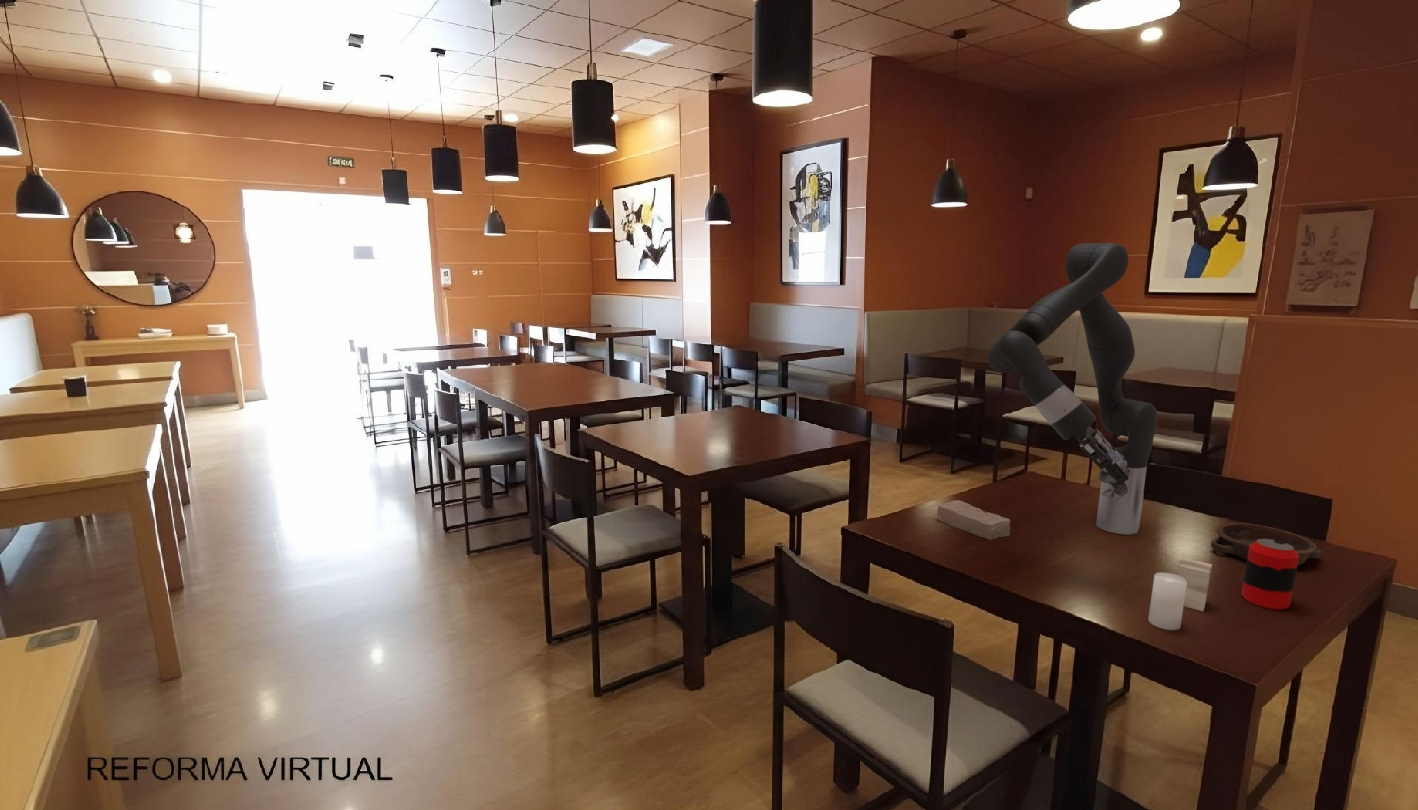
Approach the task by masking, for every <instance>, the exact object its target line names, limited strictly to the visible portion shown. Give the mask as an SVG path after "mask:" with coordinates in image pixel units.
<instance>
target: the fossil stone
mask: <svg viewBox="0 0 1418 810" xmlns="http://www.w3.org/2000/svg"><path fill="white" fill-rule="evenodd" d="M1109 454H1110V456H1111V457H1112V458H1113V459H1114V460H1115V462H1116V463H1117V464H1118V465H1119V466H1120V467H1121V469H1122V470H1123V471H1124V472H1125V473H1126V474H1127V475H1128V476H1129V472H1128V469H1127V468H1126V467H1127V461H1126V460H1125V459H1124V456H1123V455H1122V454H1121V453H1118V452H1117V450H1115V451H1114V452H1110V453H1109ZM1099 470H1100V472H1099V474H1098V479H1099V480H1100V482H1104V483H1109V484H1111V485H1112V487H1113V488H1114V491H1113V490H1112V489H1108V490H1107V491H1105V492H1103V493H1102V495H1103V496H1105V497H1107V498H1122V497H1123V496H1124V495H1126V493H1128V489H1127V486H1126V483H1125V482H1123V483H1122V484H1119V483H1118V482H1117V481H1116V480H1115V479H1114V478H1113V477H1112V476H1111V475H1110V474H1109V473H1108V472H1107V470H1104V469H1100V468H1099Z"/></svg>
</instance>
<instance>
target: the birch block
mask: <svg viewBox="0 0 1418 810" xmlns="http://www.w3.org/2000/svg"><path fill="white" fill-rule="evenodd" d="M1212 567H1213V563H1212V564H1211V563H1208V562H1207V563H1206V562H1202V561H1198V560H1194V559H1190V558H1186V557H1181V558H1180V560H1179V562H1178V565H1177V568H1176V569H1177V570H1176V571H1177V572H1176V575H1178V576H1181V577H1183V578H1184V579H1186V580H1187V587H1186V593H1185V600H1184V606H1183V607H1185V608H1188V609H1193V610H1196V611H1199V612H1200V611H1201V612H1204V610H1205V607H1206V604H1207V599H1208V593H1209V586H1210V578H1211V575H1212V573H1211V572H1212Z"/></svg>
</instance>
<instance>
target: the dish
mask: <svg viewBox="0 0 1418 810" xmlns="http://www.w3.org/2000/svg"><path fill="white" fill-rule="evenodd" d="M1216 533H1217V534H1218V537H1217V538H1215V539H1213V540H1212V541H1211V543H1210V547H1211V549H1213V550H1215V551H1217V552H1220V553H1225V554H1231V555H1234V556H1237V557H1238V558H1241V559H1243V560H1245V561H1247V558H1248V552H1249V546H1250V545H1251V544H1253V543H1254V542H1256V541H1257V540H1258V539H1271V540H1277V541H1281V542H1284V543H1287V544H1289V545H1291V546H1293V547H1294V549H1295V551H1296V552H1297V554H1298V555H1299V560H1298V565H1297V566H1301V565H1303V564H1304V563H1305V562H1306V561H1307V560H1308V559H1319V558H1320V557H1321V552H1322V551H1321V549H1319V548H1317V545H1316V544H1315V543H1314V542H1313V541H1312V540H1310V539H1309V538H1307V537H1304V536H1302V535H1299V534H1296V533H1293V532H1292V531H1291V532H1290V531H1286V530H1283V529H1279V528H1276V527H1271V526H1266V525H1260V524H1254V523H1247V522H1246V523H1245V522H1233V523H1232V522H1231V523H1230V522H1229V523H1224V524H1220V525H1219V526H1217V528H1216Z"/></svg>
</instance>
